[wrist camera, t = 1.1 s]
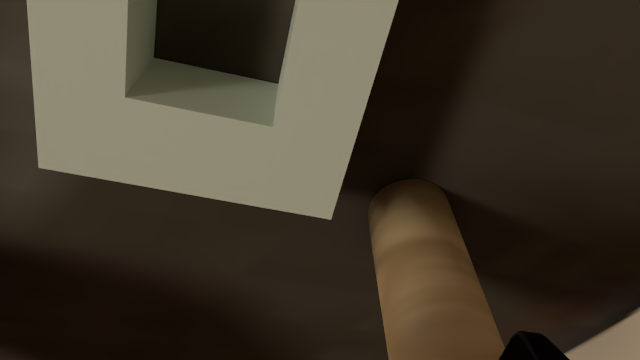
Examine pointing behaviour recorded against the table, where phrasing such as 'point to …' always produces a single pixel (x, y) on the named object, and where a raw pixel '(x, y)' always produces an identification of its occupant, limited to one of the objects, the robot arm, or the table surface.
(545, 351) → the robot arm
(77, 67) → the socket block
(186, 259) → the table surface
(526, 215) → the table surface
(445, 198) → the peg
